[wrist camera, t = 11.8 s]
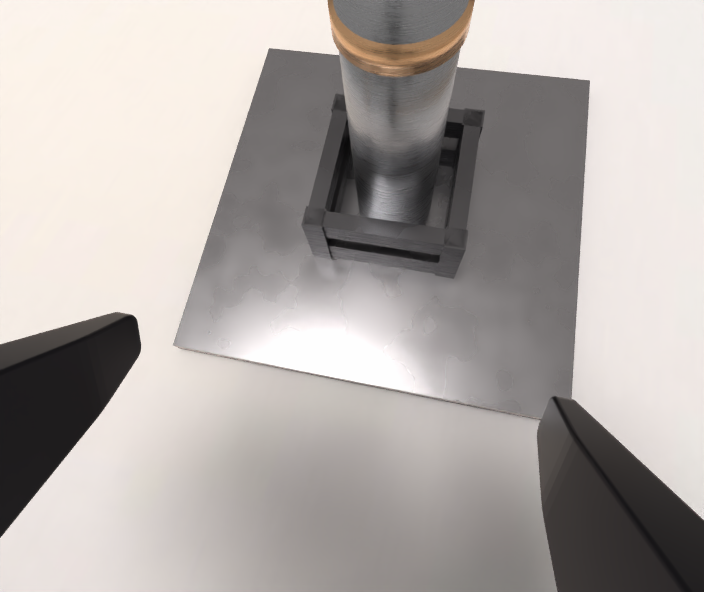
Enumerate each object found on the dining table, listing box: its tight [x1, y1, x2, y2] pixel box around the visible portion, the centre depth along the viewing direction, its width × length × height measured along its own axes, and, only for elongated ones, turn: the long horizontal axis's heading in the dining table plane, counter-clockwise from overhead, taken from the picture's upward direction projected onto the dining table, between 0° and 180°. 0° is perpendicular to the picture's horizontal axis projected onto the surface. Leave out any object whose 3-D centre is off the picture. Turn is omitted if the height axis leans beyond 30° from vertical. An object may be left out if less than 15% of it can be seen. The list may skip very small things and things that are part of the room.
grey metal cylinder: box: [328, 0, 475, 225], centre depth 18 cm, size 4×4×14 cm
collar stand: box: [173, 48, 590, 420], centre depth 23 cm, size 20×20×4 cm
